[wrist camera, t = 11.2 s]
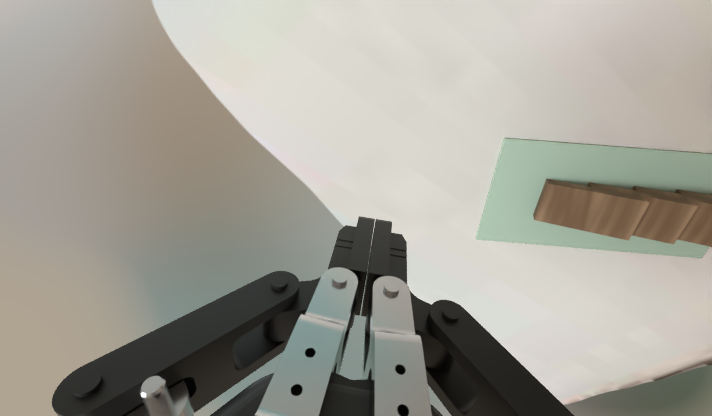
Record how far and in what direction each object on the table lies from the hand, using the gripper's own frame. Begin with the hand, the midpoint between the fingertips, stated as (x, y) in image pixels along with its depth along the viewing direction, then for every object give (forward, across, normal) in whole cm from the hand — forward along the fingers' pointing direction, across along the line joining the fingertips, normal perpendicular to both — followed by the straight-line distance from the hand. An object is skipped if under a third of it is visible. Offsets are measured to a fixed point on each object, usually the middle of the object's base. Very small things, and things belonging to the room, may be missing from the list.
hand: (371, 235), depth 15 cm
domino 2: (+26, -25, +9) cm, 37 cm away
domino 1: (+25, -20, +9) cm, 33 cm away
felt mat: (+27, -29, +8) cm, 40 cm away
